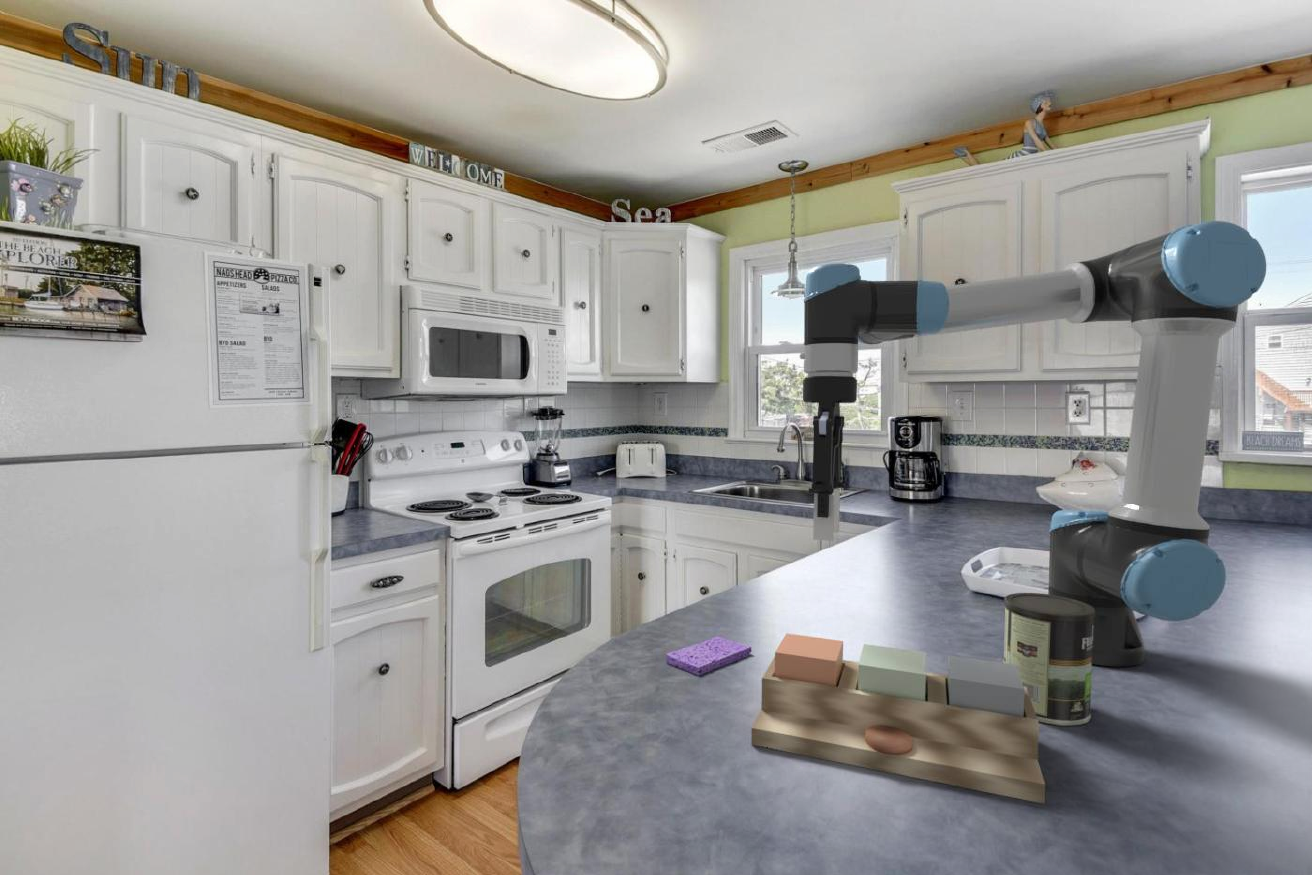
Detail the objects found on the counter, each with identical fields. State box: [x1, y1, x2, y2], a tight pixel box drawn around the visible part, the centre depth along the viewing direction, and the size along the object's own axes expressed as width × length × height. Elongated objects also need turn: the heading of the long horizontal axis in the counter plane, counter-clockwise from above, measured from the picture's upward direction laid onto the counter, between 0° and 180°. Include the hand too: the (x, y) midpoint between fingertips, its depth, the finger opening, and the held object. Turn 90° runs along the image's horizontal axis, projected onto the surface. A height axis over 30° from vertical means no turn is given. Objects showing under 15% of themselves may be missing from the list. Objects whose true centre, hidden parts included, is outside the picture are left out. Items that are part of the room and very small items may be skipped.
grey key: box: [947, 654, 1025, 717], centre depth 78 cm, size 7×7×5 cm
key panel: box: [750, 656, 1046, 805], centre depth 79 cm, size 30×15×6 cm, turn 68°
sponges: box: [665, 636, 753, 676], centre depth 105 cm, size 7×13×2 cm, turn 134°
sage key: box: [858, 643, 927, 701], centre depth 82 cm, size 7×7×5 cm
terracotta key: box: [774, 633, 844, 687], centre depth 85 cm, size 7×7×5 cm
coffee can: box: [1003, 592, 1095, 727], centre depth 88 cm, size 10×10×14 cm
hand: (826, 535), depth 97 cm, fingers open, 6 cm apart
